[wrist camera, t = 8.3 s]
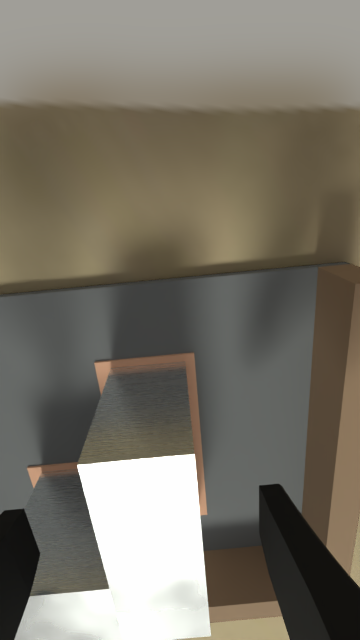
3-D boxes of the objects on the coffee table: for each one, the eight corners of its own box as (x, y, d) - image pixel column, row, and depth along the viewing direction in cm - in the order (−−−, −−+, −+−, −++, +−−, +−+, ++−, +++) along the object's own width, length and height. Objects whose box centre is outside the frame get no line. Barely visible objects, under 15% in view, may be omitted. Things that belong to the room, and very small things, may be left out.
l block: (198, 505, 16) (210, 635, 11) (56, 518, 16) (8, 654, 11) (185, 361, 13) (194, 454, 8) (11, 376, 13) (-80, 479, 8)
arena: (-40, 580, 18) (-77, 649, 15) (-180, 311, 12) (-280, 344, 9) (317, 547, 18) (344, 610, 15) (345, 261, 12) (396, 280, 9)
